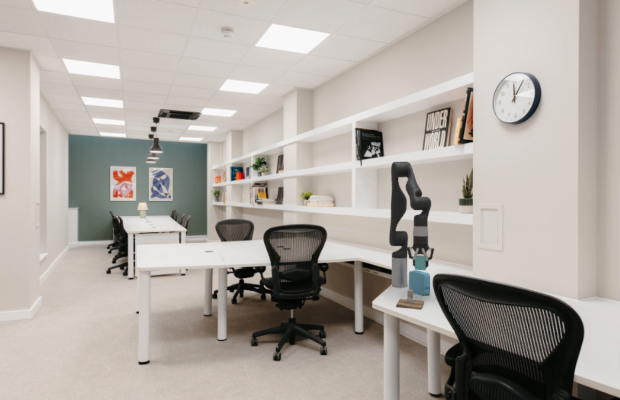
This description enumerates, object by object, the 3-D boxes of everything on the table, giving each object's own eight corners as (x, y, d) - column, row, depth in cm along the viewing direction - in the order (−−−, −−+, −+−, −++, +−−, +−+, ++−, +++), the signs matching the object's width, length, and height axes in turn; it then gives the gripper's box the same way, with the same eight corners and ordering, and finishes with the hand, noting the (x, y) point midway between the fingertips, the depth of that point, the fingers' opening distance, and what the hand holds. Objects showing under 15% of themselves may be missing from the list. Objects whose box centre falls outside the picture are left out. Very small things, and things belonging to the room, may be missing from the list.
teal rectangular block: (416, 267, 201) (416, 255, 201) (426, 268, 199) (426, 256, 199) (414, 269, 196) (415, 257, 196) (425, 270, 194) (425, 257, 194)
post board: (399, 300, 197) (399, 286, 197) (423, 302, 193) (423, 288, 192) (396, 306, 186) (396, 291, 186) (421, 309, 181) (421, 294, 181)
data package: (430, 295, 207) (430, 273, 207) (424, 296, 205) (424, 274, 205) (414, 290, 218) (414, 269, 218) (408, 291, 216) (408, 270, 216)
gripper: (435, 234, 198) (435, 266, 198) (407, 233, 203) (407, 265, 204) (434, 236, 191) (434, 269, 191) (405, 235, 196) (405, 267, 197)
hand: (420, 267), depth 198 cm, fingers closed on teal rectangular block, 5 cm apart
